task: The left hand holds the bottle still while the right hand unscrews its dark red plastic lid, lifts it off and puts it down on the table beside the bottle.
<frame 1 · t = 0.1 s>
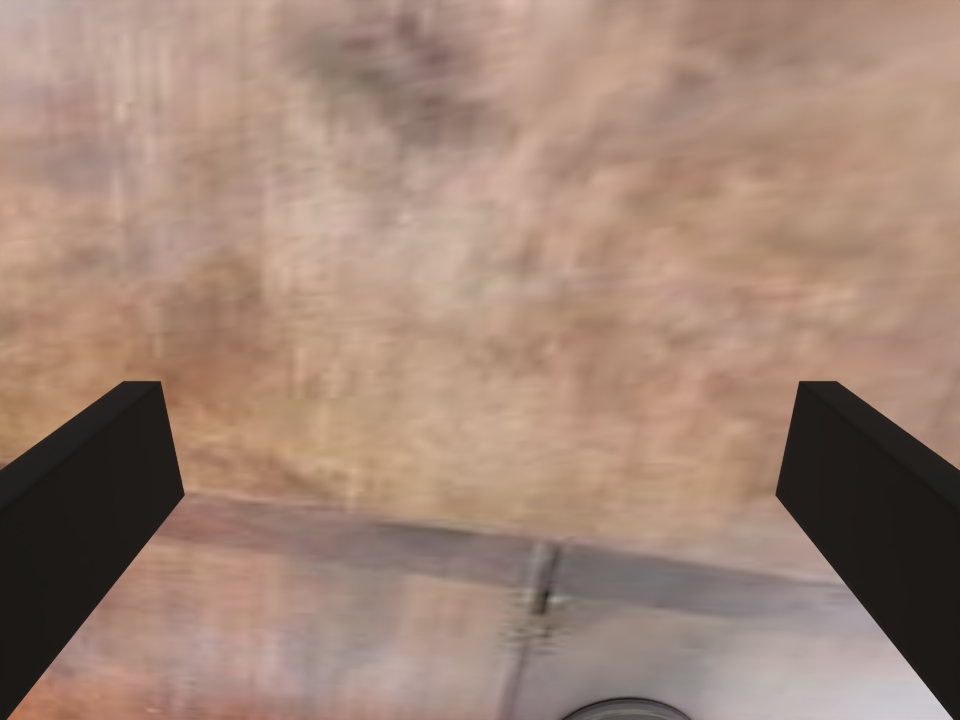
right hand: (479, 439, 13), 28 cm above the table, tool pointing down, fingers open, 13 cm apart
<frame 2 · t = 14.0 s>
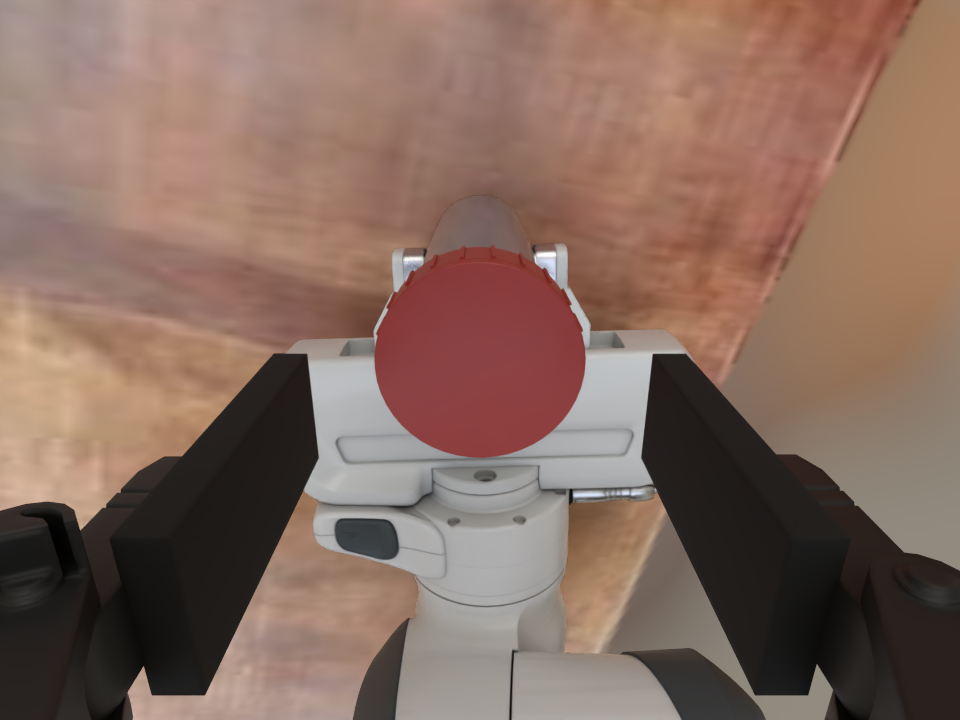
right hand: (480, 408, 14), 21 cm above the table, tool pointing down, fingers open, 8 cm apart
left hand: (478, 247, 27), fingers closed on bottle, 5 cm apart
bottle: (480, 241, 34), on the table, touching left hand
lid: (479, 361, 17), point 18 cm above the table, screwed on, not yet turned
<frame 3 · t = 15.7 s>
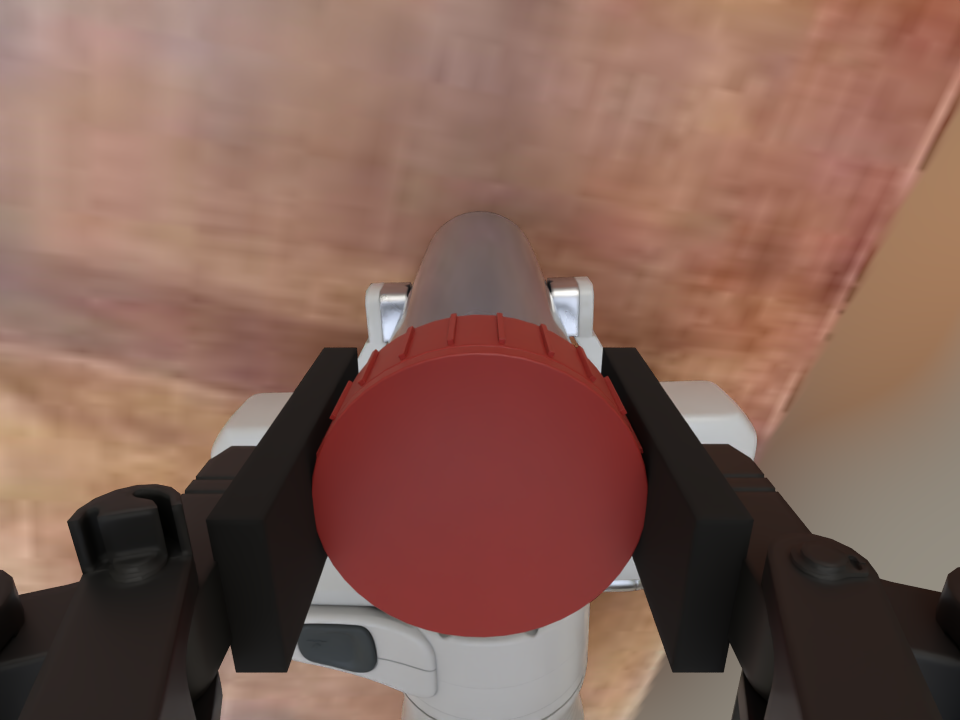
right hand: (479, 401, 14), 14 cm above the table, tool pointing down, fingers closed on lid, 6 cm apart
bottle: (479, 267, 28), on the table, touching left hand
lid: (479, 498, 11), point 18 cm above the table, screwed on, not yet turned, touching right hand
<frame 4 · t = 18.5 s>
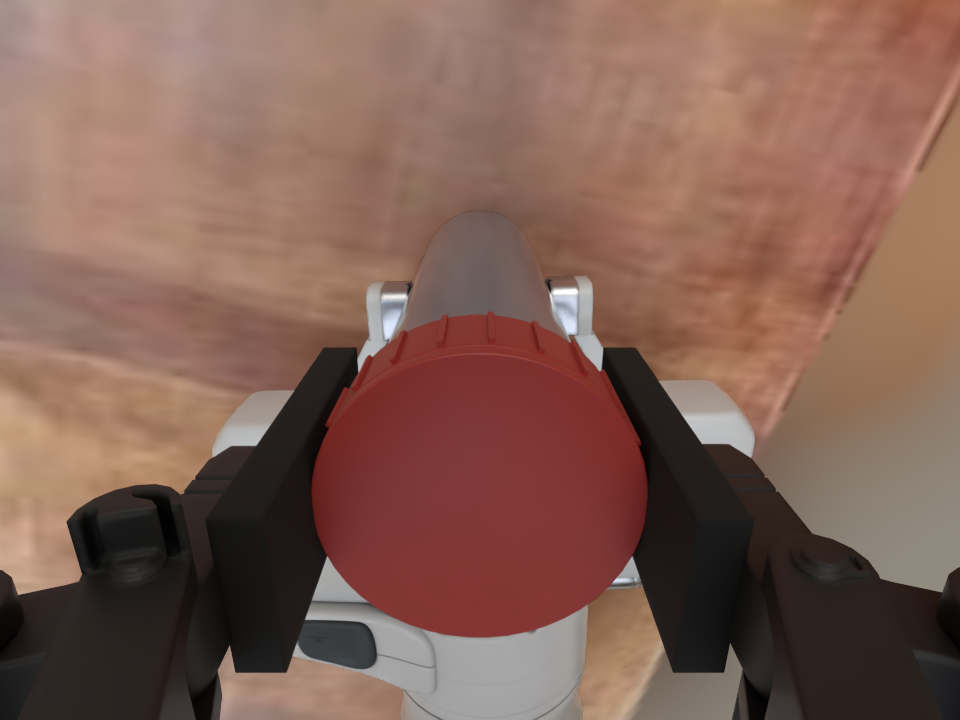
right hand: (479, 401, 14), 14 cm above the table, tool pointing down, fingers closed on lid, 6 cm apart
bottle: (479, 266, 28), on the table, touching left hand
lid: (479, 498, 11), point 18 cm above the table, turned 69° so far, risen 0.2 cm, still on its thread, touching right hand
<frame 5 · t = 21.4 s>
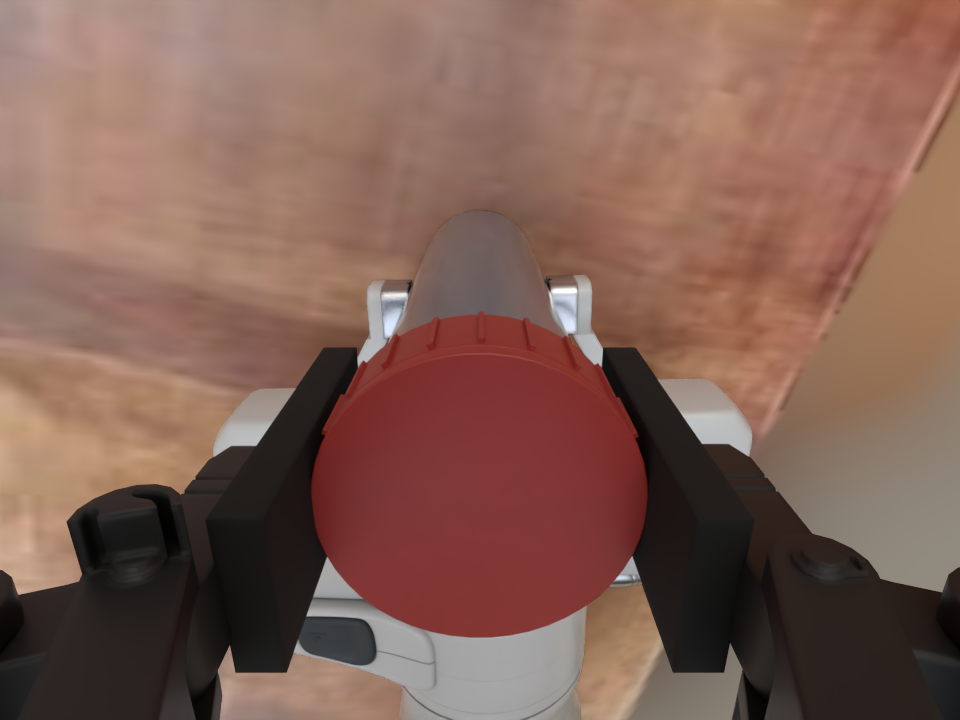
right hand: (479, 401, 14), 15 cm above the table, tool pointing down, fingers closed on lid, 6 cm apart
bottle: (479, 265, 28), on the table, touching left hand
lid: (479, 498, 11), point 19 cm above the table, turned 138° so far, risen 0.3 cm, still on its thread, touching right hand
when the right hand's fingers open (0 cm above the table, at t = 28.9 s): lid drops 3 cm, point 2 cm above the table.
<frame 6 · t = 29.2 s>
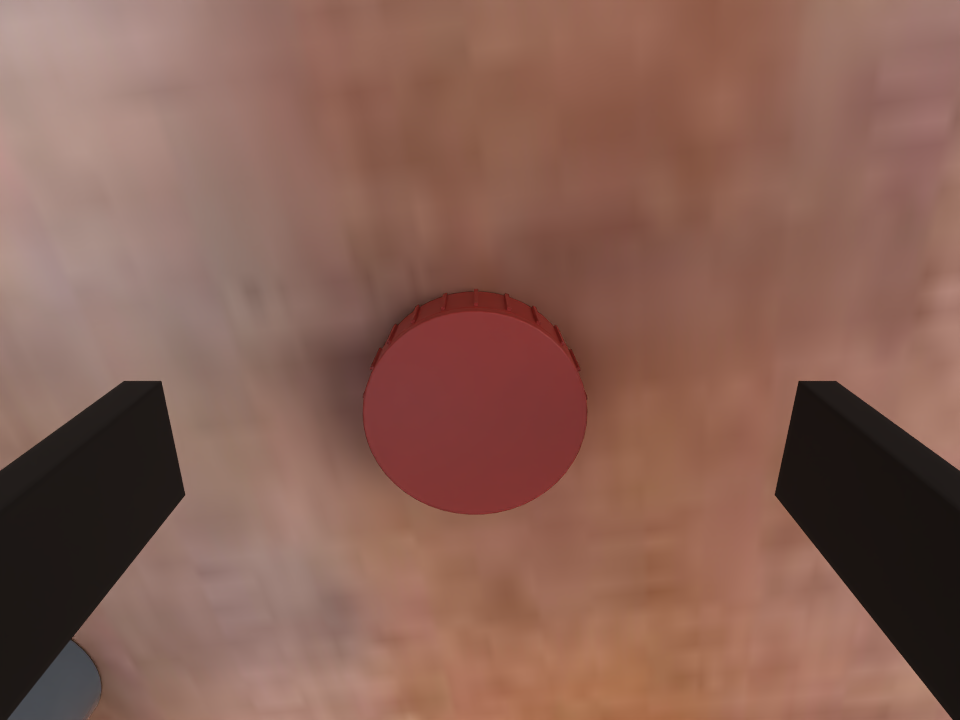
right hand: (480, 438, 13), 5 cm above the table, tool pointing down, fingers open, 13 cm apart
bottle: (28, 676, 21), on the table, touching left hand
lid: (475, 413, 16), point 2 cm above the table, off its thread
when the left hand's fingers open (6 cm above the table, at t = 29.5 s): bottle stays where it is, on the table.
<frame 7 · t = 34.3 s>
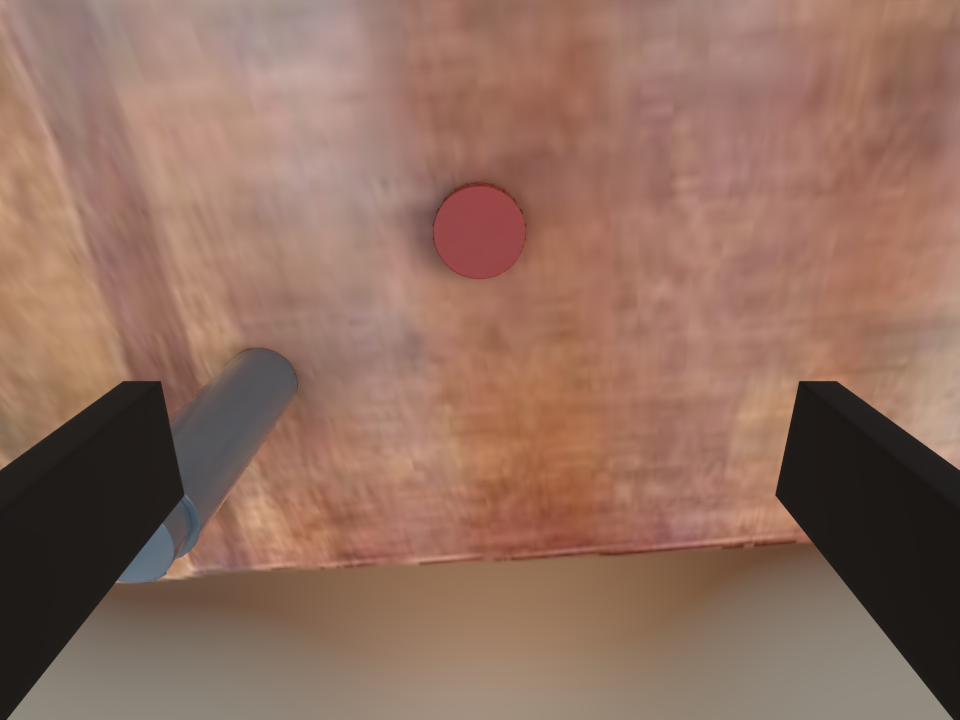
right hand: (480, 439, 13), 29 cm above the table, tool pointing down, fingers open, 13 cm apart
bottle: (262, 380, 44), on the table
lid: (479, 232, 38), point 2 cm above the table, off its thread
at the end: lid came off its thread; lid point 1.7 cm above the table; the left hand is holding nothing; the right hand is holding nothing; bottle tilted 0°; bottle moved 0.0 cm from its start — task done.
